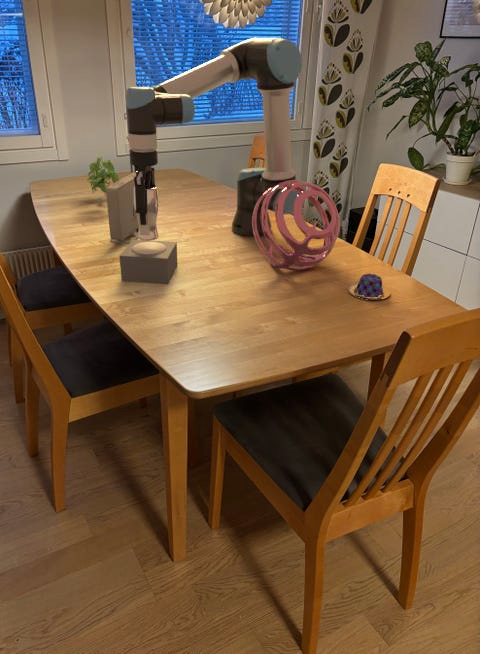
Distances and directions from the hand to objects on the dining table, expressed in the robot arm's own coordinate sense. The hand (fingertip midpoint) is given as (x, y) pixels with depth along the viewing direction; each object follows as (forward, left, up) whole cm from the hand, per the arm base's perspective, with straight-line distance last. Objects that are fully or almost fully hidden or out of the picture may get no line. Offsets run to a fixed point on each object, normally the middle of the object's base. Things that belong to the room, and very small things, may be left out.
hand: (147, 230), depth 151 cm
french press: (+30, -105, -14) cm, 110 cm away
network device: (+16, -34, -14) cm, 40 cm away
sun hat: (-66, +4, -14) cm, 68 cm away
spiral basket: (-44, -13, -14) cm, 48 cm away
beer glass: (0, 0, -2) cm, 2 cm away
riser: (0, 0, -14) cm, 14 cm away
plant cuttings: (+34, -73, -14) cm, 82 cm away
